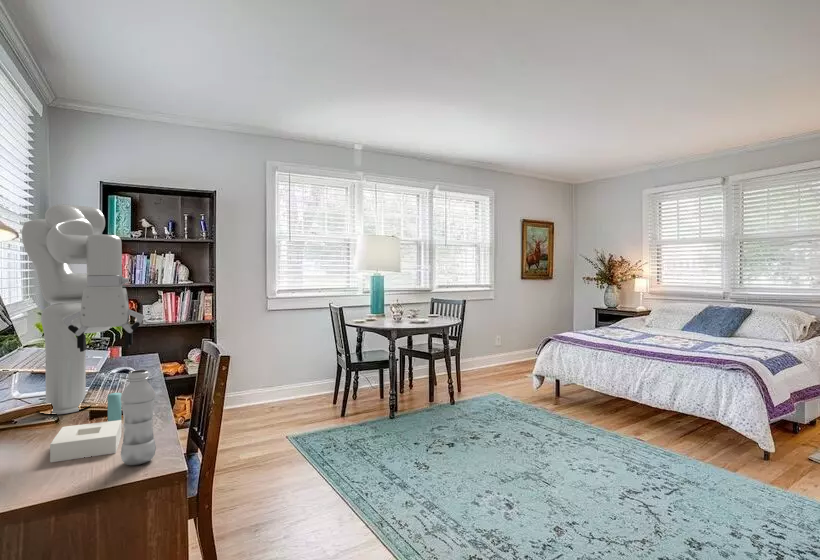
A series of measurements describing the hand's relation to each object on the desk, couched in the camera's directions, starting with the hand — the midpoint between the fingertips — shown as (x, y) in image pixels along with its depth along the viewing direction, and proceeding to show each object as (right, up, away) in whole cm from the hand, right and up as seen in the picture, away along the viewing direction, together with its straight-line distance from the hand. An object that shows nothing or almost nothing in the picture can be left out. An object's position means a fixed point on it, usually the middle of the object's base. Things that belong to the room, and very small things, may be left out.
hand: (105, 349), depth 116 cm
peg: (+1, -21, +2) cm, 21 cm away
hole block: (+3, -22, -10) cm, 24 cm away
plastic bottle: (+19, -22, -17) cm, 34 cm away
